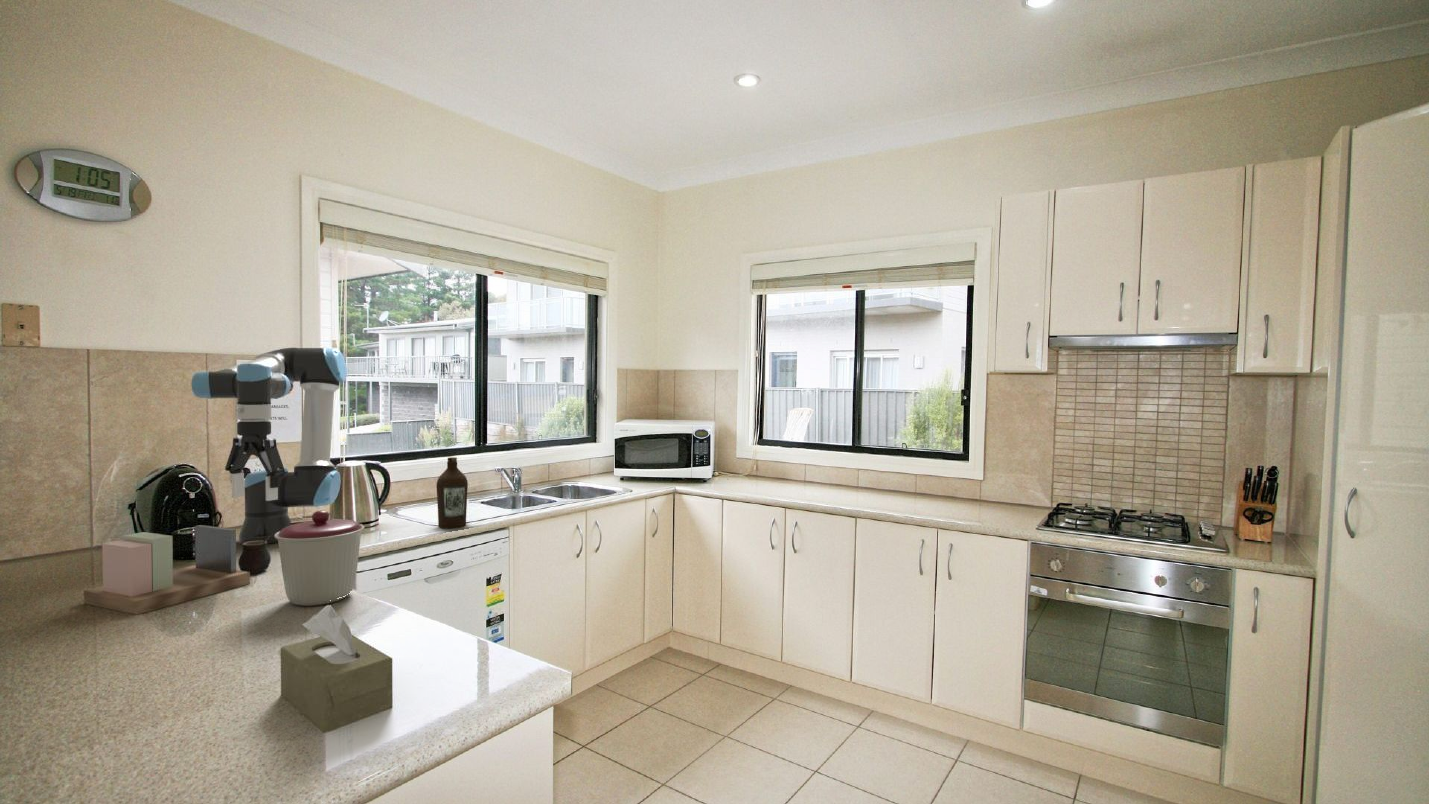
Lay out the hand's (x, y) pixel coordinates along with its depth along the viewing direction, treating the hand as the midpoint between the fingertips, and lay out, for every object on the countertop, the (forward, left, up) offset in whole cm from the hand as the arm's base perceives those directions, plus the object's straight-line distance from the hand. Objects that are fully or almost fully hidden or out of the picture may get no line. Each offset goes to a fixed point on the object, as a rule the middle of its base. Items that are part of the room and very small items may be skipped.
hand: (254, 498), depth 173 cm
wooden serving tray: (+20, 0, -20) cm, 28 cm away
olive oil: (-66, +6, -20) cm, 69 cm away
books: (+26, 0, -17) cm, 31 cm away
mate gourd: (0, 0, -20) cm, 20 cm away
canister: (+10, +38, -20) cm, 44 cm away
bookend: (+10, 0, -17) cm, 20 cm away
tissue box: (+44, +86, -20) cm, 99 cm away
